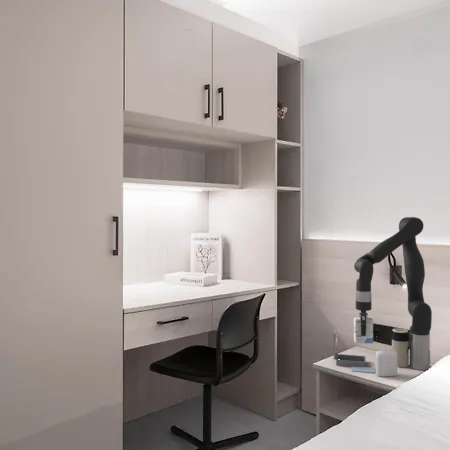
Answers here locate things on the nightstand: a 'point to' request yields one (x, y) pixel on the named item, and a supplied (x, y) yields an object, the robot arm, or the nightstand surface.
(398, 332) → the travel mug
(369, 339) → the ink box
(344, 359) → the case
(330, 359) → the nightstand surface
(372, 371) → the pad
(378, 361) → the photo printer
